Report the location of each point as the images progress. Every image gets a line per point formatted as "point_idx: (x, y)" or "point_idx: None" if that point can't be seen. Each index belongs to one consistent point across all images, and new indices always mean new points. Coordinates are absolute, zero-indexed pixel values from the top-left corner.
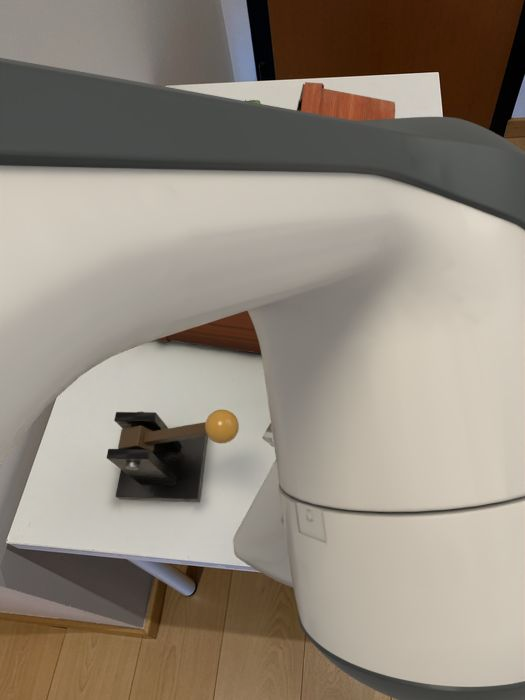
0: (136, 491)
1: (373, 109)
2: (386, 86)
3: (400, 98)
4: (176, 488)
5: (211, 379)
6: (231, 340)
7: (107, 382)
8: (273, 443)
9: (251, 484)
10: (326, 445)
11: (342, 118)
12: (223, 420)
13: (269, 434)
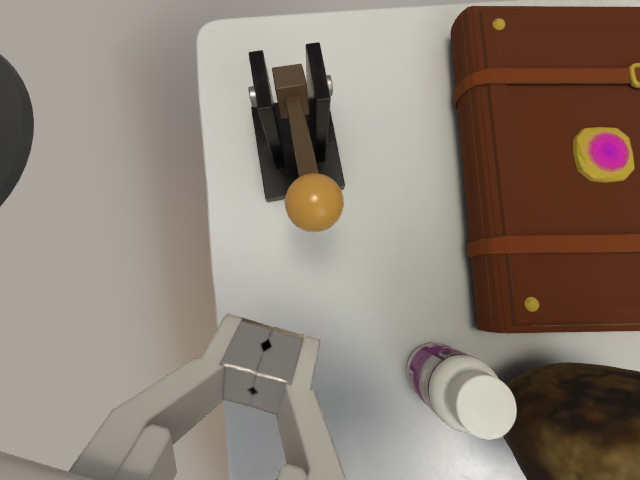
0: (260, 127)
1: None
2: None
3: None
4: (273, 170)
5: (417, 174)
6: (477, 183)
7: (384, 53)
8: (172, 372)
9: (298, 255)
10: None
11: None
12: (315, 202)
13: (222, 340)
